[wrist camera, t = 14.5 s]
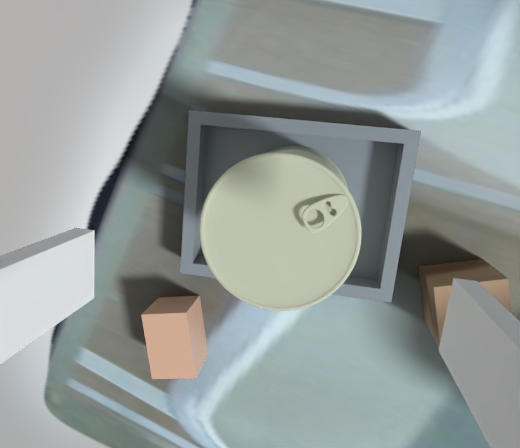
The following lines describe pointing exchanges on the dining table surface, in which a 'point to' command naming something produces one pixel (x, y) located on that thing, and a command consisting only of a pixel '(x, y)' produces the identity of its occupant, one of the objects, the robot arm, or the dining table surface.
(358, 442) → the dining table surface
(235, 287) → the can
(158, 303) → the soap block
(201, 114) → the tray
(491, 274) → the walnut block
